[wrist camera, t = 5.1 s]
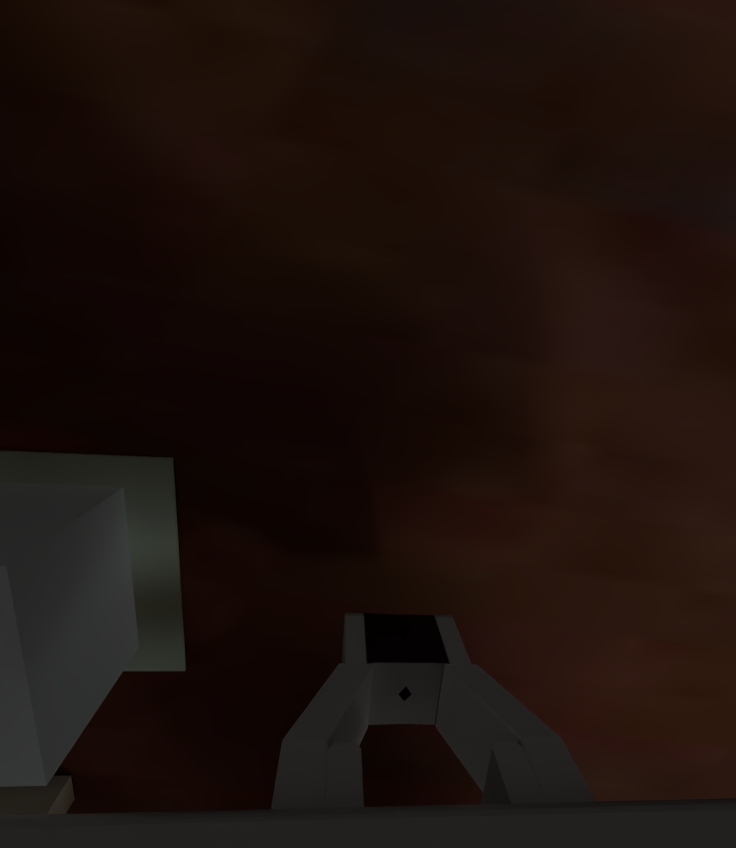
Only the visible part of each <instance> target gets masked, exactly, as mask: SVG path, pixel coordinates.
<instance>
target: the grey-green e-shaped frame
mask: <svg viewBox="0 0 736 848" xmlns="http://www.w3.org/2000/svg"><path fill="white" fill-rule="evenodd" d="M0 483H25V484H52V485H80V486H108V487H124V495H125V506H126V516H127V527H128V538H129V548H130V559H131V569H132V580H133V590H134V601H135V612H136V622H137V633H138V643H139V648H138V650H137V651H136V653H135V654H134V656H133V657H132V659H131V660H130V662H129V663H128V665H127V666H126V668H125V669H124V671H185V670H186V660H185V643H184V627H183V610H182V593H181V576H180V560H179V543H178V526H177V510H176V493H175V476H174V459H173V457H149V456H125V455H102V454H78V453H54V452H30V451H6V450H0ZM74 799H75V797H74V791H73V785H72V779H71V775H69V776H53V777H52V778H51V780H50V781H49V783H48V784H47V786H9V787H0V815H42V814H66V812H67V811H68V809H69V807H70V806H71V804H72V802H73V801H74Z"/></svg>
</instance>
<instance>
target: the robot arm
mask: <svg viewBox="0 0 736 848" xmlns="http://www.w3.org/2000/svg"><path fill="white" fill-rule="evenodd" d="M401 723H402V724H431V725H436V726H435V727H436V728H437V730H438V731H439V732H440V734H441V735H442V736H443V738H444V739H445V741H446V742H447V743H448V745H449V746H450V748H451V749H452V750H453V752H454V753H455V755H456V756H457V757H458V759H459V760H460V761H461V763H462V764H463V766H464V767H465V768H466V770H467V771H468V773H469V774H470V775H471V777H472V778H473V780H474V781H475V782H476V784H477V785H478V786H479V788H480V789H481V791H482V792H483V796H482V801H481V804H472V805H428V806H384V807H364V801H363V779H362V757H361V748H360V747H359V745H360V743H361V741H362V739H363V737H364V735H365V733H366V730H367V728H368V725H381V724H401ZM0 848H736V798H727V799H683V800H639V801H596V802H595V800H594V798H593V796H592V794H591V792H590V790H589V789H588V787H587V785H586V783H585V781H584V779H583V777H582V776H581V774H580V772H579V770H578V768H577V766H576V764H575V763H574V761H573V759H572V757H571V755H570V753H569V751H568V750H567V748H566V746H565V744H564V742H563V740H562V738H560V737H559V736H558V735H557V734H556V733H555V732H554V731H552V730H551V729H550V728H549V727H548V726H547V725H546V724H544V723H543V722H542V721H541V720H540V719H539V718H538V717H536V716H535V715H534V714H533V713H532V712H531V711H530V710H528V709H527V708H526V707H525V706H524V705H523V704H522V703H520V702H519V701H518V700H517V699H516V698H515V697H514V696H512V695H511V694H510V693H509V692H508V691H507V690H506V689H504V688H503V687H502V686H501V685H500V684H499V683H498V682H496V681H495V680H494V679H493V678H492V677H491V676H490V675H488V674H487V673H486V672H485V671H484V670H483V669H482V668H480V667H479V666H478V665H477V664H471V662H470V659H469V657H468V654H467V652H466V649H465V647H464V644H463V641H462V639H461V636H460V634H459V631H458V629H457V626H456V624H455V621H454V618H453V617H452V616H451V615H450V614H441V615H395V614H371V613H364V614H362V613H345V617H344V631H343V646H342V663H340V664H338V665H337V667H336V668H335V670H334V671H333V672H332V674H331V675H330V676H329V678H328V679H327V680H326V682H325V683H324V684H323V686H322V687H321V688H320V690H319V691H318V693H317V694H316V695H315V697H314V698H313V699H312V701H311V702H310V703H309V705H308V706H307V707H306V709H305V710H304V711H303V713H302V714H301V716H300V717H299V718H298V720H297V721H296V722H295V724H294V725H293V726H292V728H291V729H290V730H289V732H288V733H287V734H286V736H285V737H284V739H283V740H282V745H281V751H280V757H279V763H278V769H277V775H276V781H275V787H274V793H273V799H272V805H271V809H255V810H212V811H169V812H127V813H84V814H42V815H0Z"/></svg>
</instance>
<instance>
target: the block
mask: <svg viewBox="0 0 736 848" xmlns="http://www.w3.org/2000/svg"><path fill="white" fill-rule="evenodd" d="M138 648H139V643H138V633H137V622H136V612H135V601H134V590H133V580H132V569H131V559H130V548H129V538H128V527H127V516H126V506H125V495H124V487H108V486H80V485H52V484H25V483H0V787H9V786H47V784H48V783H49V781H50V780H51V778H52V777H53V775H54V774H55V772H56V771H57V769H58V768H59V766H60V765H61V763H62V762H63V760H64V759H65V757H66V756H67V754H68V753H69V751H70V750H71V748H72V747H73V745H74V744H75V742H76V741H77V739H78V738H79V736H80V735H81V733H82V732H83V730H84V729H85V727H86V726H87V724H88V723H89V721H90V720H91V719H92V717H93V716H94V714H95V713H96V711H97V710H98V708H99V707H100V705H101V704H102V702H103V701H104V699H105V698H106V696H107V695H108V693H109V692H110V690H111V689H112V687H113V686H114V684H115V683H116V681H117V680H118V678H119V677H120V675H121V674H122V672H123V671H124V669H125V668H126V666H127V665H128V663H129V662H130V660H131V659H132V657H133V656H134V654H135V653H136V651H137V650H138Z"/></svg>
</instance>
